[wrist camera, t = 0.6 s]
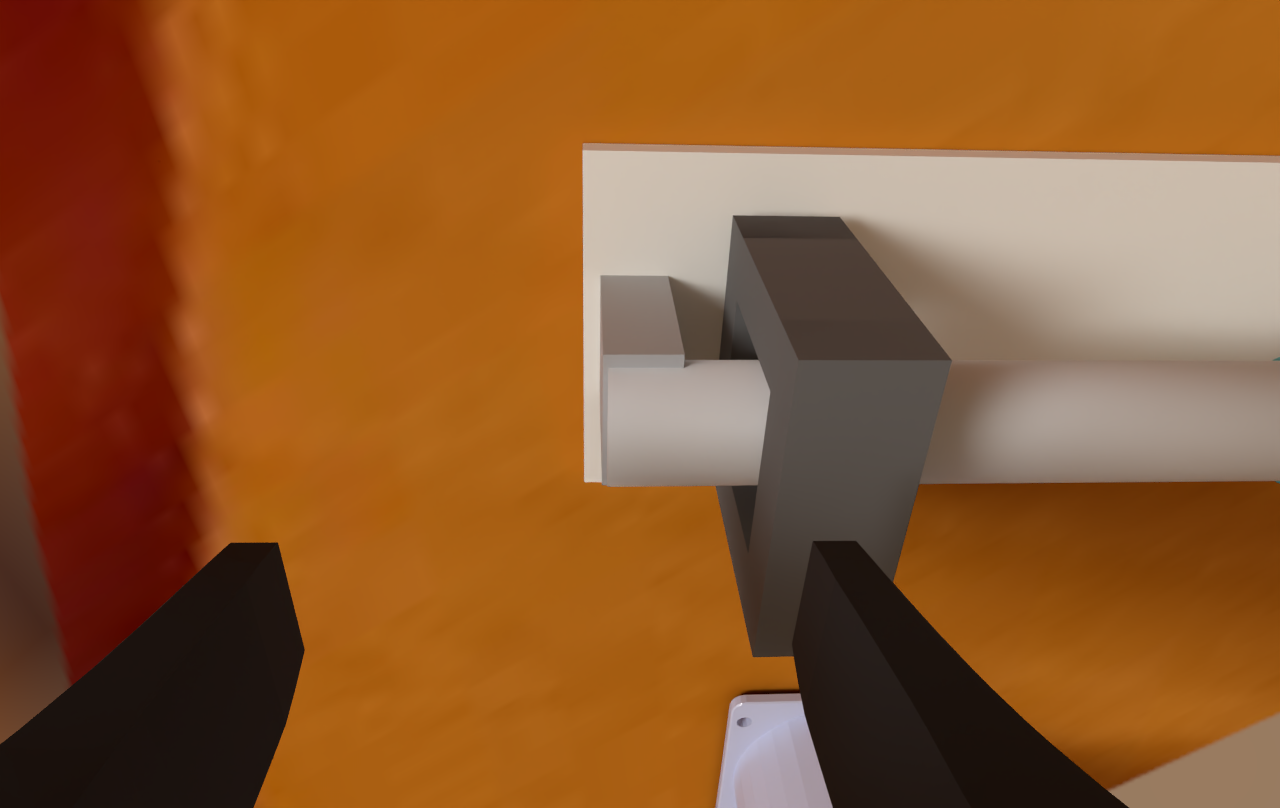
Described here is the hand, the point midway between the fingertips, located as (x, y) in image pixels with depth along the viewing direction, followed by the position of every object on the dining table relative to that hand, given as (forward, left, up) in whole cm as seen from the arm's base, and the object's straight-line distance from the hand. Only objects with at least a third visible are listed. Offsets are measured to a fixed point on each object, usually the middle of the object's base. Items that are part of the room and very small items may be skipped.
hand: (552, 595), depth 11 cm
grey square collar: (-1, -5, -9) cm, 10 cm away
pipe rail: (-1, -11, -10) cm, 15 cm away
